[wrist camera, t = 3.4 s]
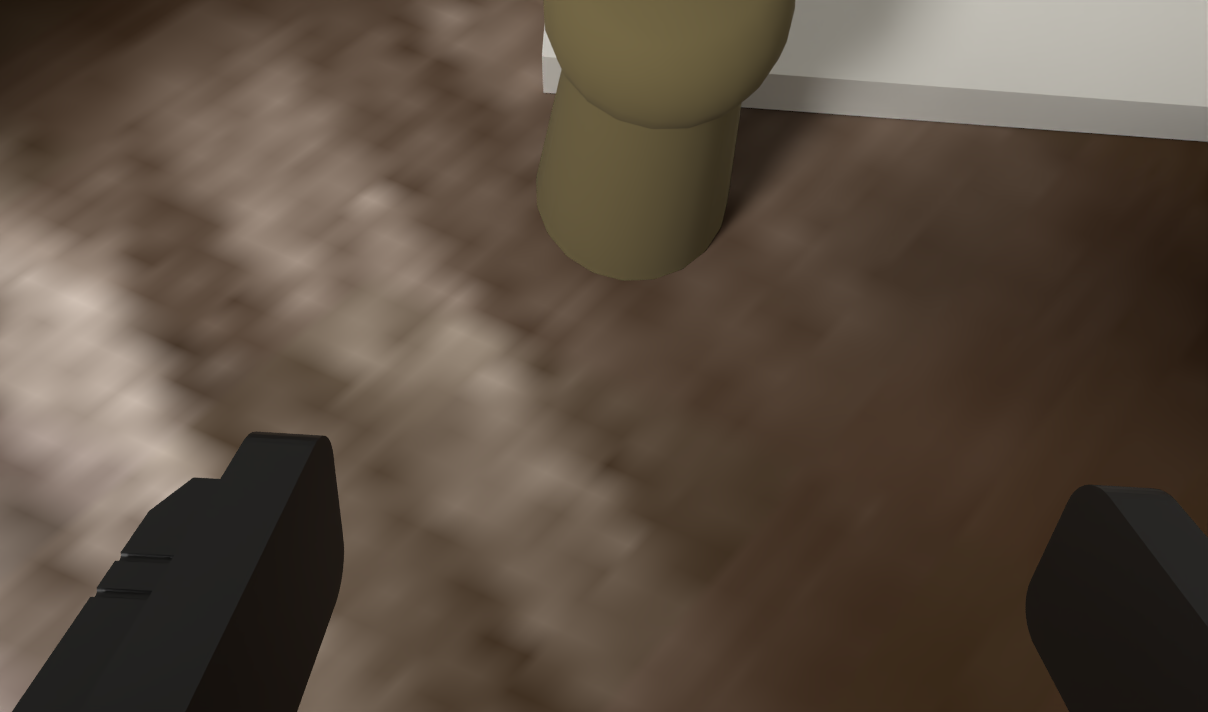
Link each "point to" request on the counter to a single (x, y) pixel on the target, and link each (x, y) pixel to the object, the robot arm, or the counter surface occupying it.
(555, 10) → the cork
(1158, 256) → the counter surface
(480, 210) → the counter surface
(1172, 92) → the socket board
